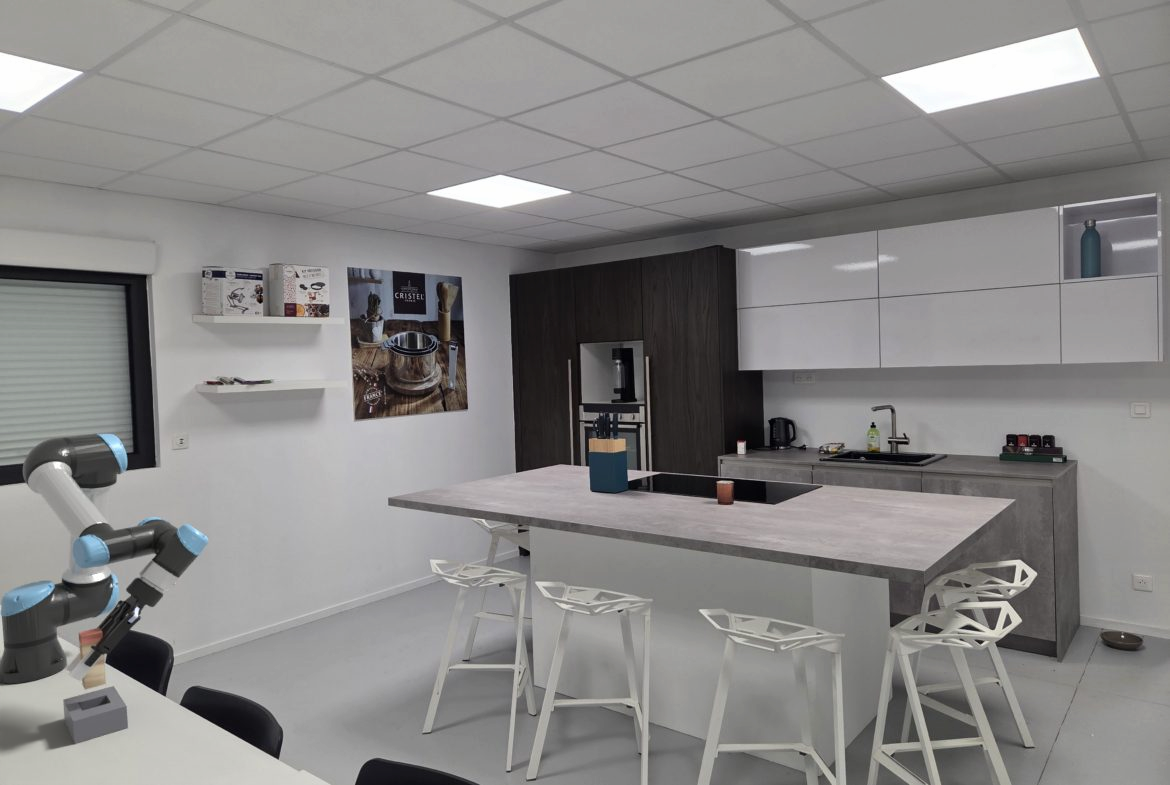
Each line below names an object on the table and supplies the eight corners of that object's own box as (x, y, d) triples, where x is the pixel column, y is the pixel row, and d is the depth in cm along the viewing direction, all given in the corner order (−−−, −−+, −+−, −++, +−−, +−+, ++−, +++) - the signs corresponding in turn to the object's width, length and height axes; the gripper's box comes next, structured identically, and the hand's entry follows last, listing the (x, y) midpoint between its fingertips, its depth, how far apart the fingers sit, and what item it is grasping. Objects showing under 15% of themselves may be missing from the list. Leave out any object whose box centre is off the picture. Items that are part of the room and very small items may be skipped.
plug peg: (82, 684, 171) (78, 632, 171) (102, 678, 174) (99, 627, 173) (85, 689, 168) (81, 636, 168) (106, 684, 171) (102, 631, 170)
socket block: (64, 720, 174) (63, 699, 174) (114, 706, 181) (113, 685, 180) (74, 744, 163) (73, 721, 163) (128, 727, 169) (126, 706, 169)
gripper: (173, 600, 174) (94, 694, 164) (156, 586, 187) (81, 672, 177) (146, 583, 170) (63, 677, 160) (130, 569, 183) (52, 656, 173)
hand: (72, 674), depth 168 cm, fingers closed on plug peg, 4 cm apart
